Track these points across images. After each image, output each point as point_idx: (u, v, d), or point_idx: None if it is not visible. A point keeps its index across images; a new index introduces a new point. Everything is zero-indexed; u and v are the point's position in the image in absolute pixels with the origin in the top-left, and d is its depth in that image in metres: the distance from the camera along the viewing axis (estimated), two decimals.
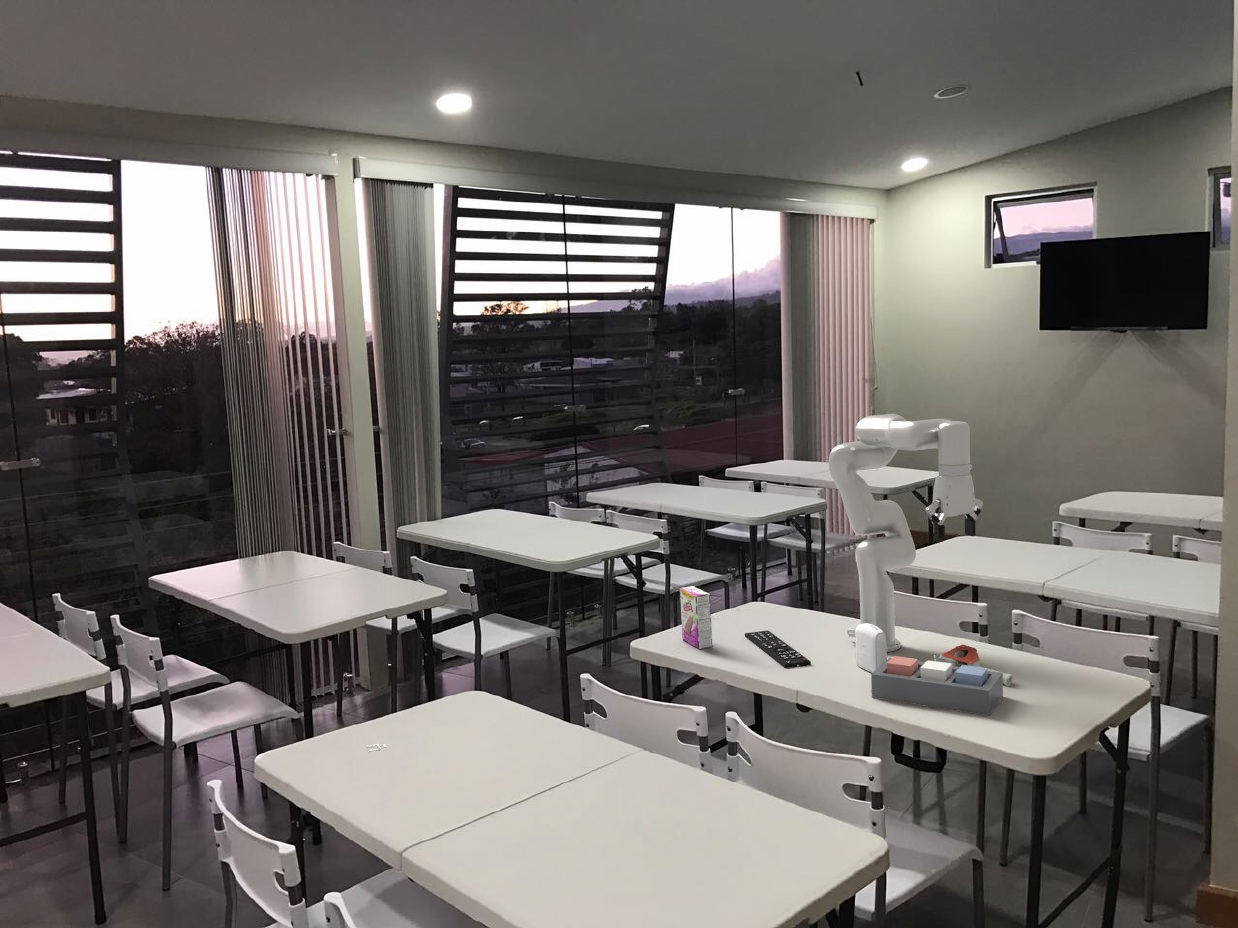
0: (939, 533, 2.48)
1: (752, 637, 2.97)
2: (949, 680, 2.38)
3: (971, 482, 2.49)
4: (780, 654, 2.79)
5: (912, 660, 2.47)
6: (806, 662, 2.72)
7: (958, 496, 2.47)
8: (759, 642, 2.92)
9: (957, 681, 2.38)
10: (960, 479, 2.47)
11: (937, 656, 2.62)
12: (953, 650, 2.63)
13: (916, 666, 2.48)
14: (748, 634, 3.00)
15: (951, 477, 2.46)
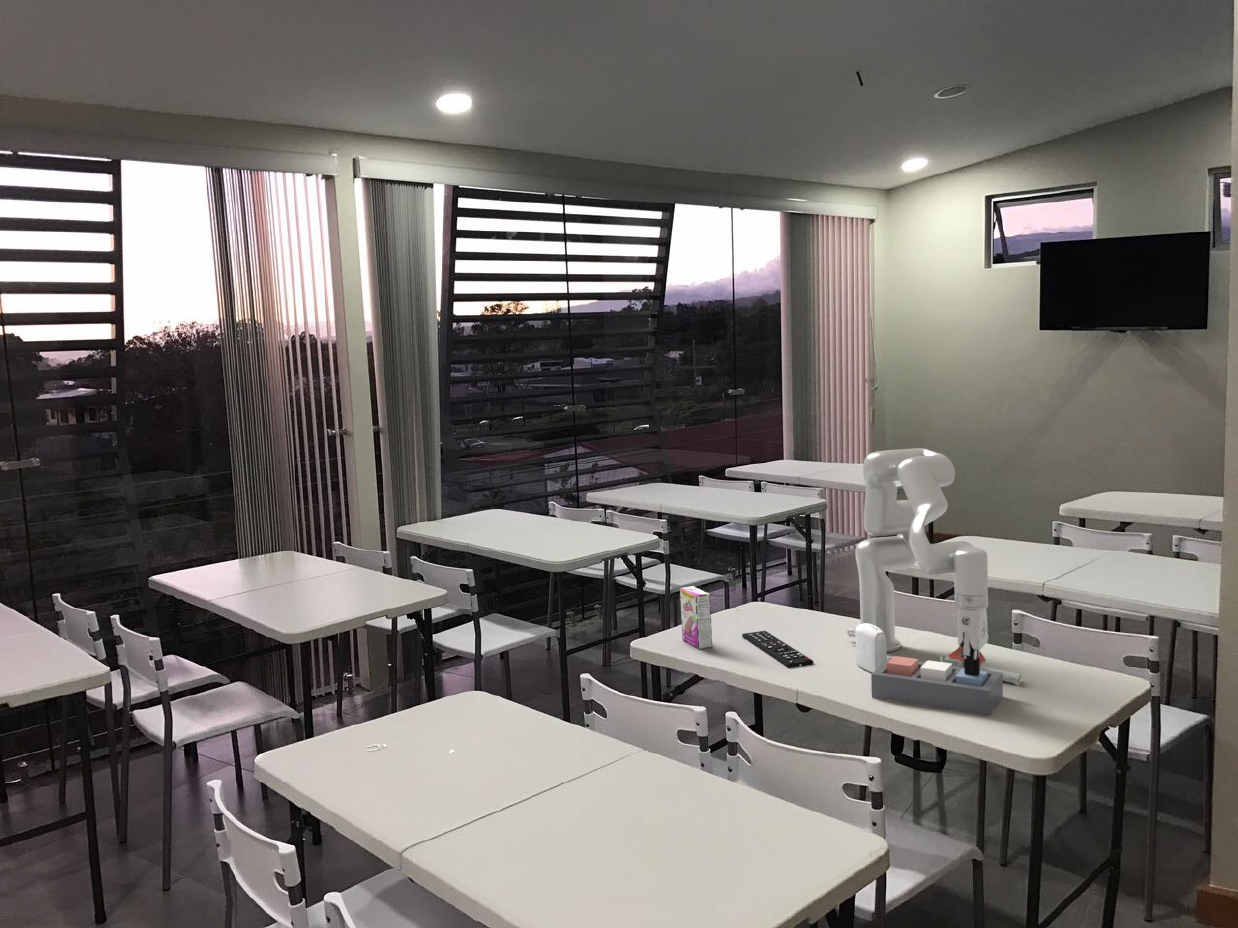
0: None
1: (750, 637, 2.97)
2: (949, 680, 2.38)
3: (958, 615, 2.35)
4: (781, 654, 2.79)
5: (912, 660, 2.47)
6: (809, 661, 2.73)
7: None
8: (758, 642, 2.92)
9: None
10: None
11: (943, 657, 2.61)
12: (957, 651, 2.62)
13: (916, 666, 2.48)
14: (746, 634, 3.00)
15: None
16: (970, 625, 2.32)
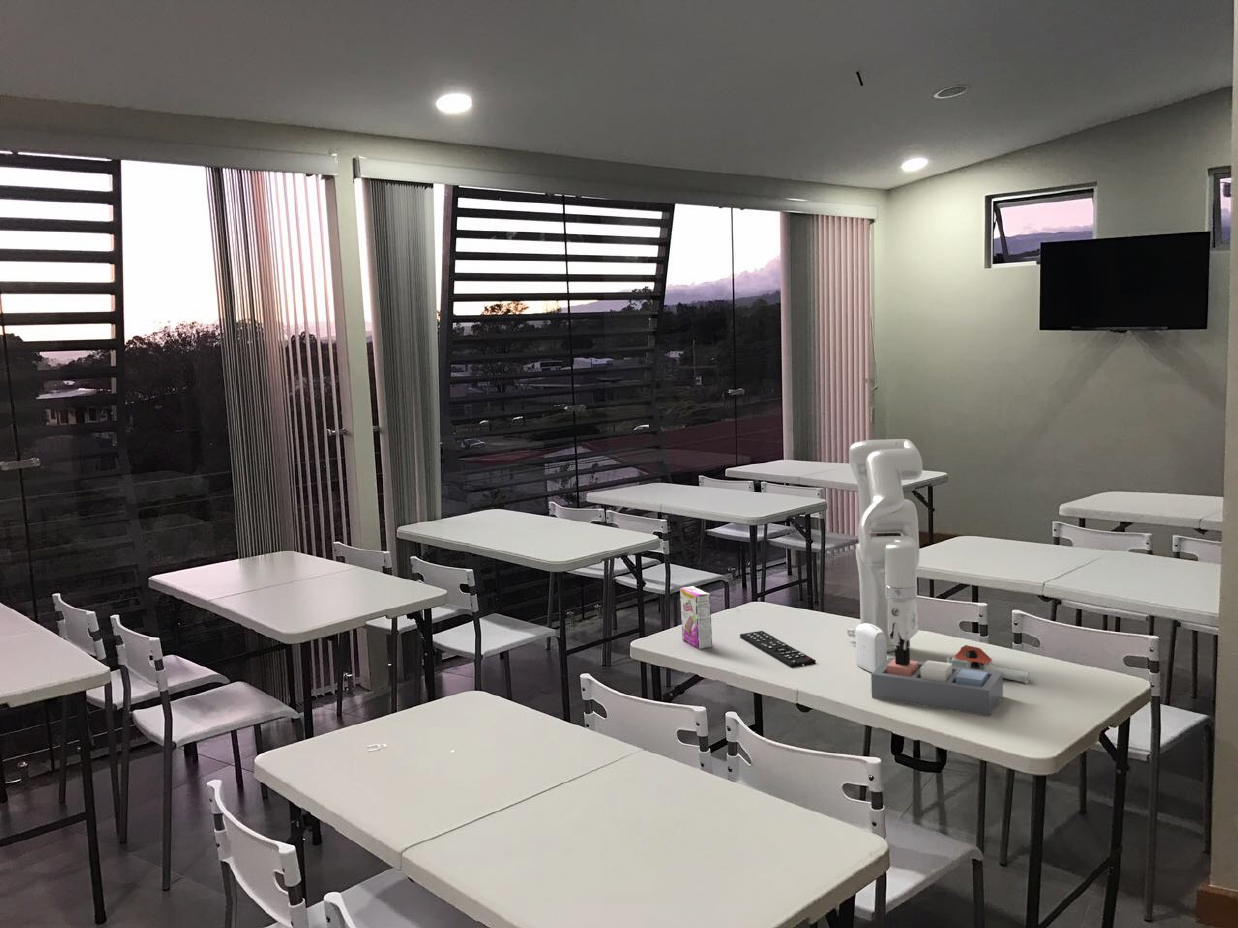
0: None
1: (749, 638, 2.96)
2: (949, 680, 2.38)
3: (888, 606, 2.44)
4: (783, 654, 2.79)
5: (912, 663, 2.47)
6: (811, 661, 2.73)
7: None
8: (757, 643, 2.91)
9: None
10: None
11: (949, 659, 2.59)
12: (962, 651, 2.62)
13: (916, 669, 2.48)
14: (744, 635, 2.99)
15: None
16: (899, 616, 2.42)
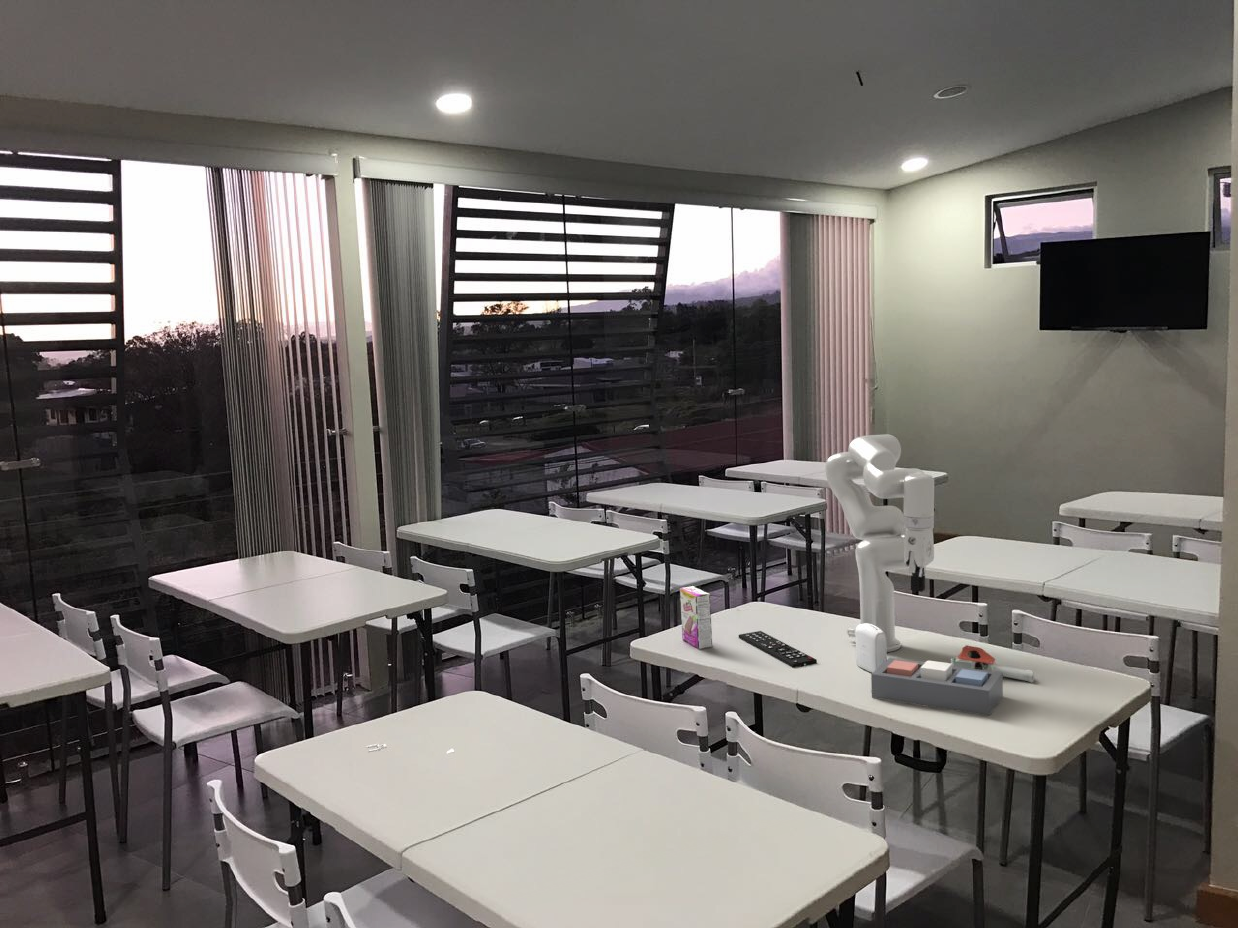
0: None
1: (748, 638, 2.96)
2: (949, 680, 2.38)
3: None
4: (784, 654, 2.79)
5: (912, 665, 2.48)
6: (812, 661, 2.73)
7: None
8: (757, 643, 2.91)
9: None
10: None
11: (953, 659, 2.59)
12: (964, 652, 2.61)
13: (916, 670, 2.48)
14: (742, 635, 2.99)
15: None
16: (915, 545, 2.52)
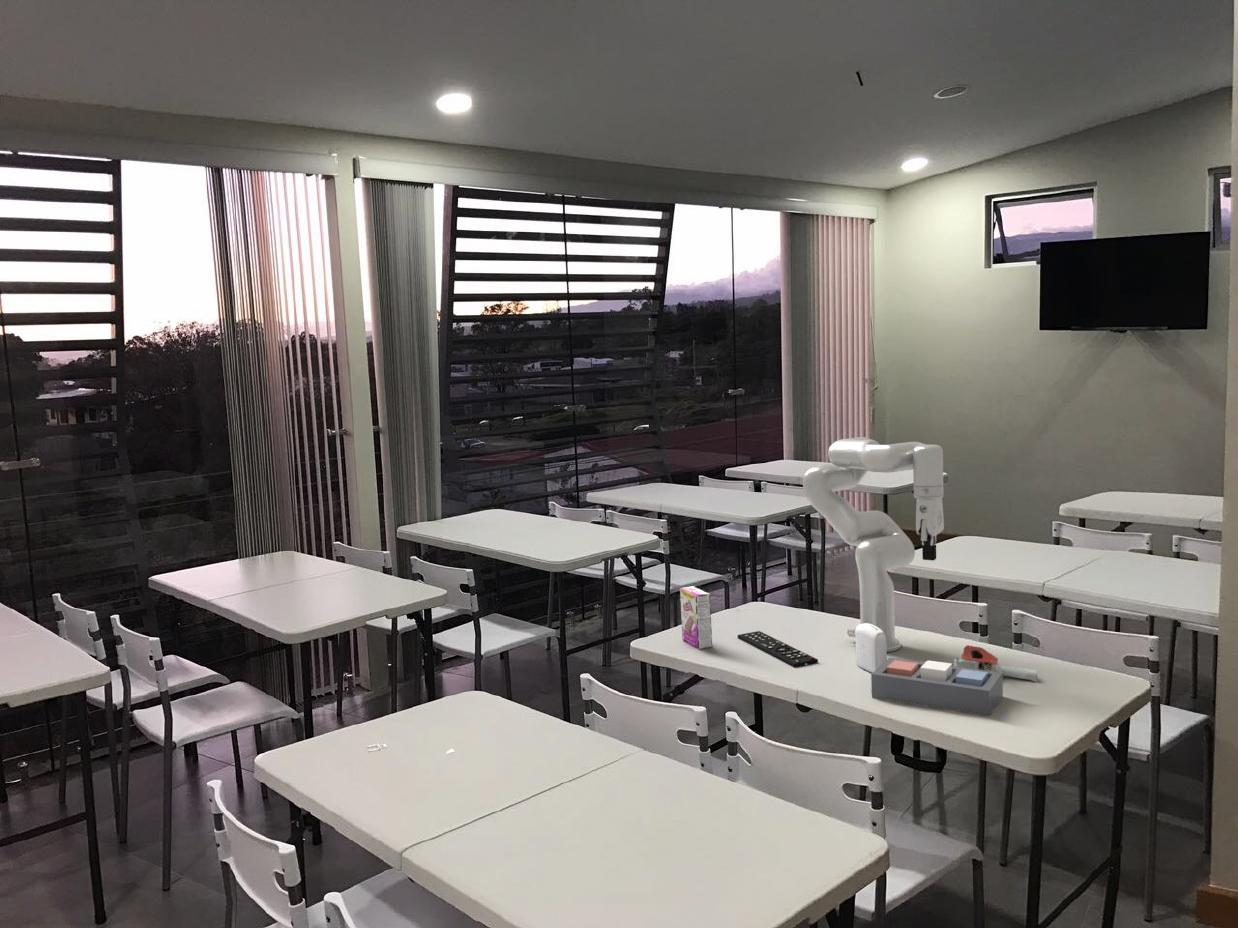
0: None
1: (747, 638, 2.96)
2: (949, 680, 2.38)
3: None
4: (784, 654, 2.79)
5: (912, 665, 2.48)
6: (813, 660, 2.74)
7: None
8: (757, 643, 2.91)
9: None
10: None
11: (956, 660, 2.58)
12: (967, 652, 2.61)
13: (916, 670, 2.48)
14: (741, 636, 2.99)
15: None
16: (927, 513, 2.58)
